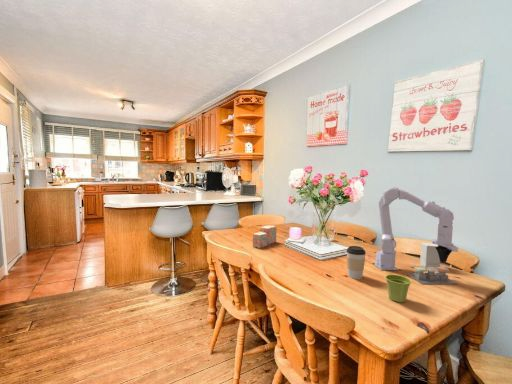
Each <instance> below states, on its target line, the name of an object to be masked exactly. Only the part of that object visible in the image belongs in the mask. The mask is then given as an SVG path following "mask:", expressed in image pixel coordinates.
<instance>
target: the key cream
mask: <svg viewBox="0 0 512 384" xmlns="http://www.w3.org/2000/svg"><path fill="white" fill-rule="evenodd" d="M424 268H425V269H427V273H428V274H429V275H435V273H439V270H438V269H436V268H434V267H424Z"/></svg>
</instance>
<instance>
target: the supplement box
mask: <svg viewBox="0 0 512 384" xmlns="http://www.w3.org/2000/svg"><path fill="white" fill-rule="evenodd" d="M420 243H421V244H420V257H419V258H420V260H419V264H420V265H421V267H423V268H425V267H434V268H435V267H441V261H440V259H439V255H438V252H437V250H436V248H435V247H436V246H438V245H437V244H433V243H432V242H420Z"/></svg>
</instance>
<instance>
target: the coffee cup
mask: <svg viewBox="0 0 512 384" xmlns="http://www.w3.org/2000/svg"><path fill="white" fill-rule="evenodd" d="M366 254H367V252H366V250H365V249H364V248H363V247H361V246H358V245H351V246H350V245H349V246H348V248H347V249H346V264H347V265H346V267H347V277H348V278H349V279H354V280H362V279H363V275H364V268H365V262H366Z"/></svg>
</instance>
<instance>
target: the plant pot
mask: <svg viewBox="0 0 512 384" xmlns="http://www.w3.org/2000/svg"><path fill="white" fill-rule="evenodd" d="M385 280H386V283H387V291H388V299H390V300H391V301H393V302H397V303H405V302H406V300H407V296H408V291H409V287H410V284H412V280H411V279H410V278H408V277H406V276H404V275H399V274H386V275H385Z"/></svg>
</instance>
